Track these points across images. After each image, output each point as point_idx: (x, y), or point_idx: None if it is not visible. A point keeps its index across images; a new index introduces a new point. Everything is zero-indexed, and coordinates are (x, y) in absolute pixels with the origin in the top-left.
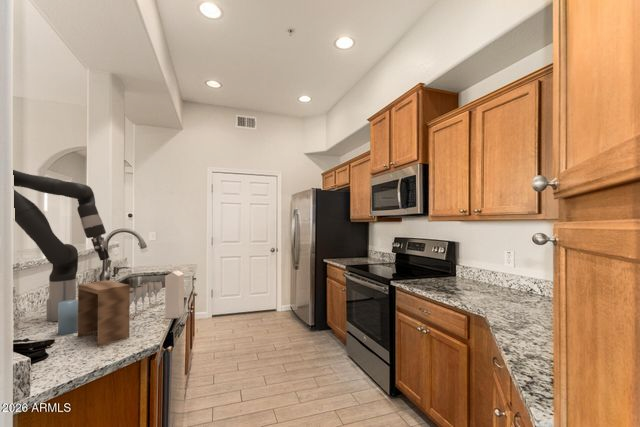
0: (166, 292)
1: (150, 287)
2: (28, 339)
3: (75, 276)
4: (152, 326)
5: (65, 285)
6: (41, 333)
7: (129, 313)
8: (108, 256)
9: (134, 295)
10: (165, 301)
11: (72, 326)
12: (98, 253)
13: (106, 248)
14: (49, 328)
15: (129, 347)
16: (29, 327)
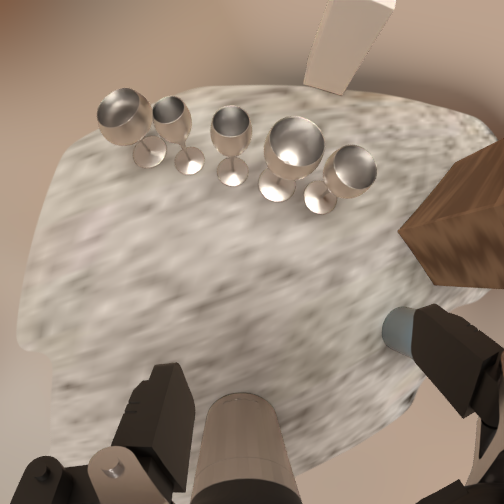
0: (370, 45)
1: (190, 114)
2: (414, 392)
3: (237, 487)
4: (400, 121)
5: (289, 476)
6: (382, 394)
7: (489, 145)
8: (172, 376)
9: (316, 155)
10: (359, 66)
11: None
12: (475, 398)
13: (121, 478)
14: (344, 401)
15: None
16: (312, 455)
